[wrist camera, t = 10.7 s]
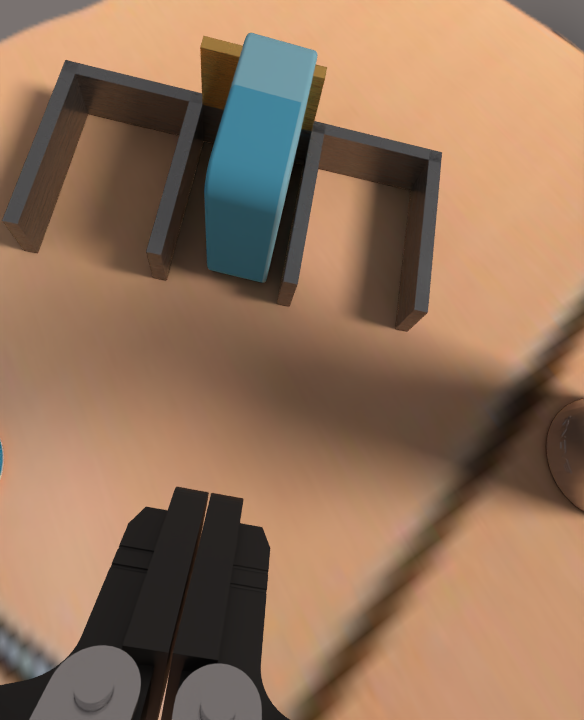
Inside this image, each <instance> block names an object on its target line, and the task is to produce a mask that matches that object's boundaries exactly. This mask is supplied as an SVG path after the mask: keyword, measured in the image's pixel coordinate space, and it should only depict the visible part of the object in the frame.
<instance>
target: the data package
mask: <svg viewBox="0 0 584 720" xmlns="http://www.w3.org/2000/svg"><path fill="white" fill-rule="evenodd" d="M316 60H317V52H316V51H314V50H311V49H307V48H304V47H300V46H297V45H293V44H290V43H286V42H282V41H279V40H275V39H272V38H268V37H265V36H261V35H258V34H254V33H249V34H248V35H247V36H246V38H245V41H244V44H243V48H242V51H241V54H240V58H239V61H238V65H237V68H236V71H235V75H234V78H233V81H232V85H231V88H230V92H229V95H228V98H227V102H226V105H225V109H224V112H223V115H222V119H221V122H220V126H219V129H218V132H217V136H216V139H215V143H214V146H213V149H212V153H211V156H210V160H209V164H208V168H207V173H206V180H205V189H204V199H205V225H206V251H207V267H208V269H209V270H212V271H216V272H220V273H224V274H228V275H232V276H237V277H241V278H245V279H249V280H253V281H257V282H261V283H264V282H266V280H267V276H268V272H269V267H270V263H271V259H272V254H273V250H274V246H275V242H276V237H277V233H278V229H279V224H280V220H281V216H282V211H283V207H284V203H285V198H286V194H287V190H288V185H289V181H290V177H291V172H292V168H293V164H294V159H295V155H296V150H297V146H298V141H299V137H300V132H301V128H302V123H303V119H304V114H305V110H306V105H307V101H308V96H309V92H310V87H311V83H312V78H313V74H314V69H315V65H316Z"/></svg>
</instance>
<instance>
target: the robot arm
mask: <svg viewBox="0 0 584 720" xmlns="http://www.w3.org/2000/svg"><path fill="white" fill-rule="evenodd" d="M546 448H547V459H548V463H549V466H550V470H551V473H552V475H553V477H554V479H555V481H556V483H557V485H558V487H559V488H560V489H561V491H562V492H563V493H564V495H565V496H566V497H567V498H568V499H569V500H570V501H571V502H572V503H573V504H574V505H575V506H577V507H578V508H580V509H581V510H583V511H584V399H581V400H577V401H574V402H572V403H571V404H569V405H567V406H565V407H564V408H563V409H562V410H561V411H560V412H559V413H558V414H557V415H556V417H555V418H554V420H553V421H552V423H551V426H550V429H549V432H548V436H547V445H546ZM208 494H209V492H203V491H198V490H192V489H187V488H182V487H176V488H175V490H174V493H173V496H172V499H171V502H170V505H169V508H168V511H167V510H162V509H156V508H151V507H145V508H144V509H143V510H142V511H141V512H140V513H139V514H138V515H137V516H136V517H135V518H134V519H133V520H131V521H130V522H129V523H128V526H127V528H126V531H125V533H124V535H123V538H122V540H121V543H120V545H119V549H118V550H117V552H116V555H115V557H114V559H113V562H112V566H111V568H110V569H109V571H108V574H107V576H106V579H105V581H104V583H103V586H102V588H101V591H100V593H99V595H98V598H97V600H96V603H95V605H94V607H93V610H92V612H91V615H90V617H89V619H88V622H87V624H86V627H85V629H84V631H83V634H82V636H81V638H80V640H79V642H78V644H77V646H76V647H75V648H74V650H73V651H72V652H71V654H70V655H69V656H68V657H67V658H66V659H65V660H64V661H63V662H61V663H60V664H59V665H58V666H56V667H55V668H53V669H52V670H50V671H48V672H47V673H45V674H43V675H40V676H38V677H35V678H33V679H29V680H25V681H21V682H15V683H10V684H4V685H0V720H158V717H159V713H160V709H161V705H162V700H163V696H164V692H165V688H166V684H167V689H166V695H165V700H164V706H163V712H162V717H161V720H289V719H288V718H286V717H285V716H284V715H283V714H281V713H280V712H279V711H278V710H277V709H276V707H275V706H274V705H273V704H272V702H271V701H270V699H269V698H268V696H267V694H266V691H265V689H264V686H263V683H262V678H261V655H262V642H263V630H264V618H265V606H266V590H267V581H268V569H269V557H270V546H269V544H268V541H267V538H266V536H265V533H264V530H263V528H262V527H258V526H252V525H247V524H241V523H240V518H241V512H242V505H243V498H237V497H232V496H226V495H221V494H215V493H211V497H210V501H209V505H208V509H207V513H206V517H205V521H204V516H205V511H206V506H207V500H208ZM203 522H204V526H203ZM202 527H203V530H202ZM201 532H202V534H201ZM169 671H170V672H169ZM168 675H169V678H168ZM167 679H168V683H167Z"/></svg>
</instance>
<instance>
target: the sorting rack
mask: <svg viewBox="0 0 584 720" xmlns="http://www.w3.org/2000/svg"><path fill="white" fill-rule="evenodd" d="M242 48H243V46H242V45H238V44H234V43H230V42H226V41H222V40H218V39H214V38H210V37H206V36H203V40H202V43H201V47H200V49H201V78H202V93H198V92H194V91H190V90H186V89H182V88H178V87H173V86H169V85H165V84H161V83H157V82H153V81H149V80H145V79H141V78H137V77H133V76H129V75H125V74H121V73H116V72H112V71H108V70H104V69H100V68H96V67H92V66H88V65H84V64H80V63H76V62H72V61H68V60H65V62H64V65H63V67H62V70H61V73H60V75H59V78H58V80H57V83H56V85H55V88H54V90H53V93H52V95H51V98H50V100H49V103H48V105H47V108H46V111H45V113H44V116H43V118H42V121H41V123H40V126H39V128H38V131H37V133H36V136H35V138H34V141H33V144H32V146H31V149H30V151H29V154H28V156H27V159H26V161H25V164H24V166H23V169H22V171H21V174H20V176H19V179H18V182H17V184H16V187H15V189H14V192H13V194H12V197H11V199H10V202H9V204H8V207H7V209H6V212H5V215H4V217H3V220H2V221H3V223H4V224H5V225H6V227H7V228H8V229H9V231H10V232H11V233H12V235H13V236H14V237H15V239H16V240H17V242H18V243H19V244H20V246H21V247H22V248H23V250H25V251H30V252H34V253H38V251H39V249H40V246H41V243H42V240H43V238H44V235H45V232H46V229H47V227H48V224H49V221H50V218H51V215H52V213H53V210H54V207H55V204H56V202H57V199H58V196H59V193H60V191H61V188H62V185H63V182H64V179H65V177H66V174H67V171H68V168H69V166H70V163H71V160H72V157H73V154H74V152H75V149H76V146H77V143H78V141H79V138H80V135H81V132H82V130H83V127H84V124H85V121H86V118H87V116H88V114H91V115H95V116H99V117H104V118H108V119H112V120H116V121H120V122H125V123H129V124H133V125H137V126H141V127H146V128H150V129H154V130H158V131H163V132H167V133H171V134H175V135H179V139H178V142H177V146H176V149H175V153H174V156H173V160H172V163H171V167H170V170H169V174H168V177H167V181H166V184H165V188H164V191H163V195H162V198H161V202H160V205H159V209H158V212H157V216H156V219H155V223H154V226H153V230H152V233H151V237H150V240H149V244H148V247H147V251H146V253H147V257H148V260H149V264H150V268H151V271H152V275H153V278H157V279H162V280H167V277H168V273H169V269H170V265H171V262H172V258H173V254H174V250H175V247H176V243H177V239H178V235H179V232H180V228H181V224H182V221H183V217H184V213H185V209H186V206H187V202H188V198H189V194H190V191H191V187H192V183H193V179H194V176H195V172H196V168H197V164H198V161H199V157H200V153H201V149H202V146H203V142H204V141H205V142H209V143H213V144H214V143H215V139H216V136H217V132H218V129H219V126H220V122H221V119H222V115H223V112H224V109H225V105H226V102H227V98H228V95H229V92H230V88H231V85H232V81H233V78H234V75H235V71H236V68H237V65H238V61H239V58H240V54H241V51H242ZM326 70H327V67H324V66H320V65H315V69H314V74H313V78H312V83H311V87H310V92H309V96H308V101H307V105H306V110H305V114H304V119H303V123H302V128H301V132H300V137H299V141H298V146H297V150H296V155H295V159H294V163H297V164H302V165H303V169H302V174H301V179H300V185H299V190H298V195H297V200H296V206H295V211H294V216H293V221H292V227H291V232H290V237H289V243H288V248H287V253H286V258H285V264H284V269H283V274H282V279H281V285H280V290H279V295H278V301H277V304H280V305H285V306H290V304H291V301H292V298H293V296H294V293H295V290H296V287H297V284H298V279H299V273H300V268H301V262H302V256H303V251H304V245H305V240H306V234H307V228H308V223H309V217H310V212H311V206H312V200H313V195H314V189H315V183H316V178H317V172H318V169H323V170H327V171H331V172H335V173H340V174H344V175H348V176H352V177H356V178H361V179H365V180H369V181H373V182H377V183H382V184H386V185H390V186H394V187H399V188H403V189H407V190H410V199H409V208H408V217H407V227H406V236H405V245H404V254H403V263H402V273H401V282H400V291H399V300H398V309H397V318H396V328H395V329H398V330H403V331H409V330H410V329H411V328H412V327H413V326H414V325H415V324H416V323H417V322H418V321H419V320H420V319H421V318H422V317H424V316H425V315H426V314H427V313H428V304H429V293H430V282H431V270H432V259H433V248H434V236H435V225H436V214H437V203H438V191H439V180H440V169H441V158H442V152H438V151H434V150H430V149H426V148H422V147H418V146H414V145H410V144H406V143H402V142H397V141H393V140H389V139H385V138H381V137H377V136H373V135H369V134H365V133H361V132H357V131H353V130H349V129H345V128H340V127H336V126H332V125H328V124H324V123H320V122H316V121H314V120H315V116H316V112H317V108H318V104H319V100H320V96H321V92H322V88H323V84H324V80H325V75H326Z"/></svg>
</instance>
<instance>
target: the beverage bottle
mask: <svg viewBox="0 0 584 720" xmlns="http://www.w3.org/2000/svg"><path fill="white" fill-rule="evenodd" d="M3 466H4V451H3V446H2V442H1V439H0V479H1V476H2V472H3Z"/></svg>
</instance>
